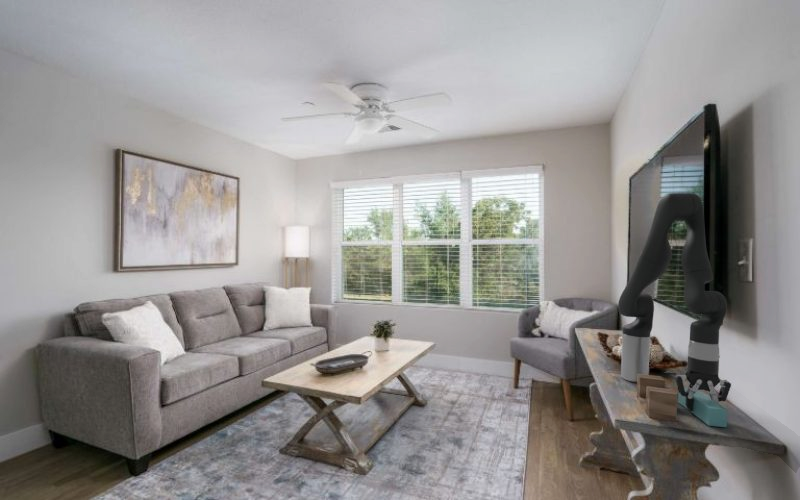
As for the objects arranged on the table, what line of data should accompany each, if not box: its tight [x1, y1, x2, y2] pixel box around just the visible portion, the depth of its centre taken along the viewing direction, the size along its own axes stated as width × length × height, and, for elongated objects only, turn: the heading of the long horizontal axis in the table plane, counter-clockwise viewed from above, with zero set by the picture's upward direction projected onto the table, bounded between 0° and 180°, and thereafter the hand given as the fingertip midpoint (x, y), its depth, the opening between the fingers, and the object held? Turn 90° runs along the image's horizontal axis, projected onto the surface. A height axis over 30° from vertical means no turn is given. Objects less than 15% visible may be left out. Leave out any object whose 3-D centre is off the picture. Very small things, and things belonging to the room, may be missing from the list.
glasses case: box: [677, 386, 729, 428], centre depth 120 cm, size 17×5×5 cm, turn 169°
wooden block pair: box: [636, 374, 678, 422], centre depth 124 cm, size 17×7×8 cm, turn 159°
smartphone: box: [663, 369, 677, 376], centre depth 167 cm, size 7×1×15 cm
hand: (700, 411), depth 120 cm, fingers closed on glasses case, 5 cm apart
